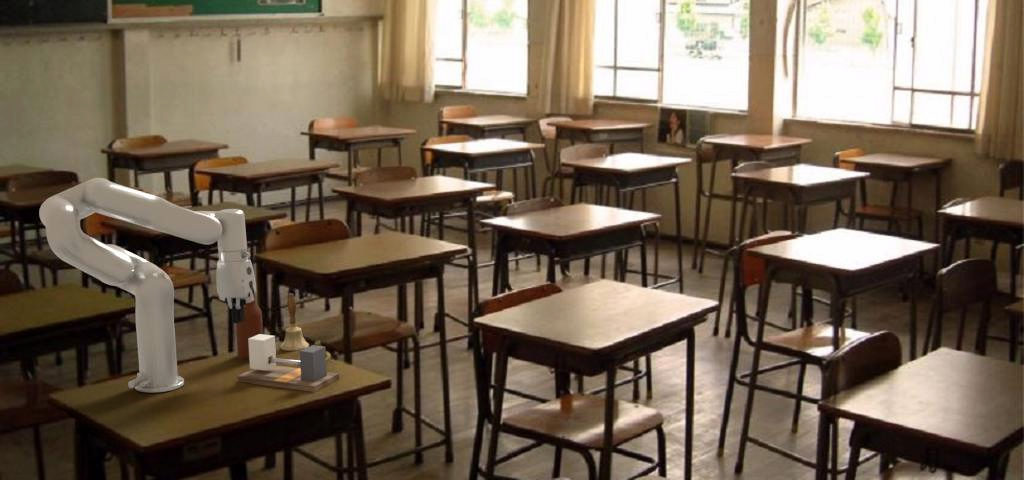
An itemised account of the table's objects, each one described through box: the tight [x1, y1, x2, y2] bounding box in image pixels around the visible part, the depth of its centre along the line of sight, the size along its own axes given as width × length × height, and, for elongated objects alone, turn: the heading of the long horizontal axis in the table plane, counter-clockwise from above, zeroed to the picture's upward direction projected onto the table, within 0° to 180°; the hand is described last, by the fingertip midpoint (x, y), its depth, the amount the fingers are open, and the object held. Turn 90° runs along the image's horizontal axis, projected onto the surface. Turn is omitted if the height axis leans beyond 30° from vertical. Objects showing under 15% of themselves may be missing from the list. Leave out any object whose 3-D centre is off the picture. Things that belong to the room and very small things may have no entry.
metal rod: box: [268, 357, 301, 367], centre depth 332 cm, size 1×16×1 cm, turn 66°
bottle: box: [235, 294, 264, 361], centre depth 352 cm, size 7×7×25 cm
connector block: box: [299, 344, 328, 382], centre depth 327 cm, size 6×4×8 cm, turn 156°
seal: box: [296, 340, 332, 364], centre depth 350 cm, size 9×5×15 cm
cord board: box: [237, 364, 340, 393], centre depth 332 cm, size 12×24×2 cm, turn 66°
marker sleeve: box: [248, 333, 277, 370], centre depth 334 cm, size 5×5×8 cm
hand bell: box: [279, 292, 310, 352], centre depth 362 cm, size 8×8×16 cm
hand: (238, 322), depth 336 cm, fingers closed
